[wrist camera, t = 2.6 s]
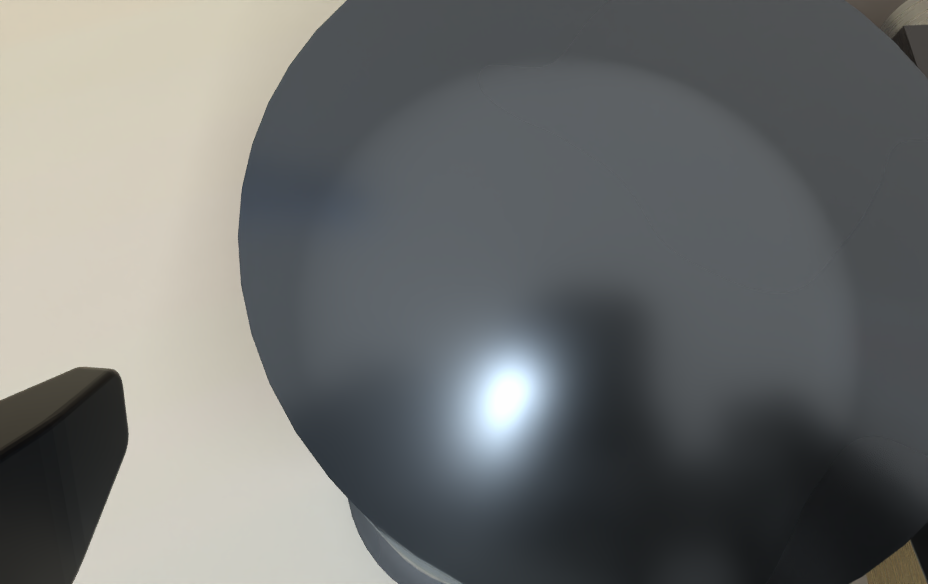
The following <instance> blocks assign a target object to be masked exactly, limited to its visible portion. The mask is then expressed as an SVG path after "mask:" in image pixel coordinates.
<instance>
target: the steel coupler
mask: <svg viewBox="0 0 928 584" xmlns="http://www.w3.org/2000/svg"><path fill="white" fill-rule="evenodd" d="M238 243H239V259H240V275H241V286H242V291H243V296H244V301H245V305H246V310H247V315H248V319H249V324H250V329H251V334H252V337H253V339H254V342H255V345H256V347H257V350H258V353H259V356H260V358H261V361H262V364H263V367H264V369H265V372H266V375H267V378H268V380H269V383H270V385H271V387H272V389H273V391H274V392H275V394H276V396H277V398H278V400H279V402H280V404H281V406H282V407H283V409H284V411H285V413H286V415H287V417H288V419H289V420H290V422H291V424H292V426H293V428H294V430H295V432H296V433H297V434H298V436H299V437H300V438H301V440H302V441H303V443H304V444H305V445H306V447H307V448H308V449H309V451H310V452H311V453H312V455H313V456H314V458H315V459H316V460H317V462H318V463H319V464H320V466H321V467H322V469H323V470H324V471H325V473H326V474H327V475H328V477H329V478H330V479H331V480H332V481H333V482H334V483H335V485H336V486H337V487H338V488H339V489H340V490H341V491H342V492H343V493H344V494H345V495H346V497H347V498H348V501H349V505H350V509H351V514H352V517H353V520H354V522H355V525H356V528H357V530H358V533H359V535H360V537H361V539H362V540H363V542H364V544H365V546H366V548H367V550H368V551H369V552H370V554H371V555H372V557H373V558H374V559H375V561H376V562H377V563H378V565H379V566H380V567H381V568H382V569H383V570H384V571H385V572H386V573H387V574H388V575H389V576H390V577H391V578H392V579H393V580H394V581H396V582H397V583H398V584H850V583H851V582H853V581H855V580H857V579H859V578H861V577H863V576H864V575H865V574H867V573H868V572H869V571H871V570H872V569H873V568H875V567H876V566H877V565H879V564H880V563H881V562H883V561H884V560H886V559H887V558H888V557H890V556H891V555H892V554H894V553H895V552H896V551H898V550H899V549H900V548H902V547H903V546H904V545H905V544H906V543H907V542H908V541H909V540H910V539H911V538H912V537H913V536H914V535H915V534H916V533H917V532H918V531H919V530H920V529H921V528H922V527H923V526H924V525H925V524H926V523H927V522H928V79H927V78H926V76H925V75H924V74H923V73H922V72H921V71H920V69H919V68H918V67H917V66H916V65H915V64H914V63H913V62H912V61H911V60H910V59H909V57H908V56H907V55H906V54H905V53H904V52H903V51H902V50H901V49H900V48H899V46H898V45H897V44H896V43H895V42H894V41H893V40H892V39H891V38H889V37H888V36H887V35H886V34H885V33H884V32H883V31H882V30H880V29H879V28H878V27H877V26H876V25H875V24H874V23H873V22H871V21H870V20H869V19H868V18H867V17H866V16H865V15H864V14H862V13H861V12H860V11H859V10H857V9H856V8H855V7H853V6H852V5H850V4H849V3H848V2H846V1H845V0H347V1H346V2H345V3H344V4H343V5H342V6H341V7H340V8H339V9H338V10H337V11H336V12H335V13H334V14H333V15H332V16H331V17H330V18H329V19H328V20H327V21H326V22H325V23H324V24H323V25H322V26H321V27H320V28H318V29H317V30H316V32H315V33H314V34H313V36H312V37H311V38H310V39H309V41H308V42H307V43H306V45H305V46H304V47H303V49H302V50H301V51H300V52H299V54H298V55H297V56H296V58H295V59H294V60H293V62H292V63H291V64H290V66H289V67H288V69H287V71H286V73H285V75H284V76H283V78H282V80H281V82H280V83H279V85H278V87H277V89H276V90H275V92H274V94H273V96H272V98H271V99H270V101H269V103H268V105H267V108H266V110H265V113H264V116H263V118H262V121H261V123H260V126H259V128H258V131H257V133H256V136H255V139H254V141H253V144H252V148H251V152H250V156H249V160H248V165H247V169H246V173H245V178H244V182H243V186H242V194H241V206H240V218H239V230H238Z"/></svg>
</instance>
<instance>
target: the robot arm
mask: <svg viewBox="0 0 928 584" xmlns="http://www.w3.org/2000/svg"><path fill="white" fill-rule="evenodd" d="M128 435H129V433H128V423H127V415H126V407H125V399H124V391H123V384H122V380H121V377H120V375H119V373H118V372H117V371H115V370H114V369H107V368H93V367H77V368H74V369H72V370H70V371H68V372H65V373H63V374H61V375H58V376H56V377H54V378H51V379H49V380H47V381H44V382H42V383H40V384H37V385H35V386H33V387H30V388H28V389H26V390H24V391H21V392H19V393H17V394H14V395H12V396H10V397H7V398H5V399H3V400H0V584H72V583H73V581H74V579H75V577H76V575H77V573H78V571H79V569H80V566H81V564H82V562H83V559H84V557H85V554H86V552H87V550H88V547H89V545H90V542H91V539H92V537H93V534H94V532H95V529H96V527H97V524H98V522H99V519H100V517H101V514H102V512H103V509H104V506H105V504H106V501H107V499H108V496H109V494H110V491H111V489H112V486H113V484H114V481H115V479H116V476H117V474H118V471H119V468H120V466H121V463H122V461H123V458H124V456H125V453H126V449H127V445H128ZM910 542H911V545H912V547H913V550H914V552H915V555H916V557H917V560H918V562H919V565H920V567H921V570H922V572H923V575H924V577H925V580H926V582H927V584H928V522H927V523H926V524H925V525H924V526H923V527H922V528H921V529H920V530H919V531H918V532H917V533H916V534H915V535H914V536H913V537H912V538H911V539H910Z"/></svg>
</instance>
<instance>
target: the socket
mask: <svg viewBox="0 0 928 584" xmlns="http://www.w3.org/2000/svg"><path fill="white" fill-rule="evenodd" d="M880 30H882V31H883V32H884V33H885V34H886V35H887V36H888V37H889V38H891V39H892V40H893V41H894V42H895V43H896V44H897V45H898V46H899V48H900V49H901V50H902V51H903V52H904V53H905V54H906V55H907V56H908V57H909V59H910V60H911V61H912V62H913V63H914V64H915V65H916V66H917V67H918V68H919V69H920V71H921V72H922V73H923V74H924V75H925V76H926V78H927V79H928V0H907V1H905V2H904V3H903V4H901V5H900V6H899V7H898V8H897V9H896V10H894V11H893V12H892V13H891V14H890V15H889V17H888V18H887V19H886V20H885V21H884V23H883V24H882V26H881V28H880ZM866 577H867V581H868V584H927V582H926V580H925V577H924V575H923V572H922V570H921V567H920V565H919V562H918V560H917V557H916V555H915V552H914V550H913V547H912V545H911V542H910V540H909V541H908V542H907V543H906V544H905V545H904V546H903V547H902V548H900V549H899V550H898V551H896V552H895V553H894V554H892V555H891V556H890V557H888V558H887V559H886V560H884V561H883V562H881V563H880V564H879V565H877V566H876V567H875V568H873V569H872V570H871V571H869V572H868V573H867V574H866Z"/></svg>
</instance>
